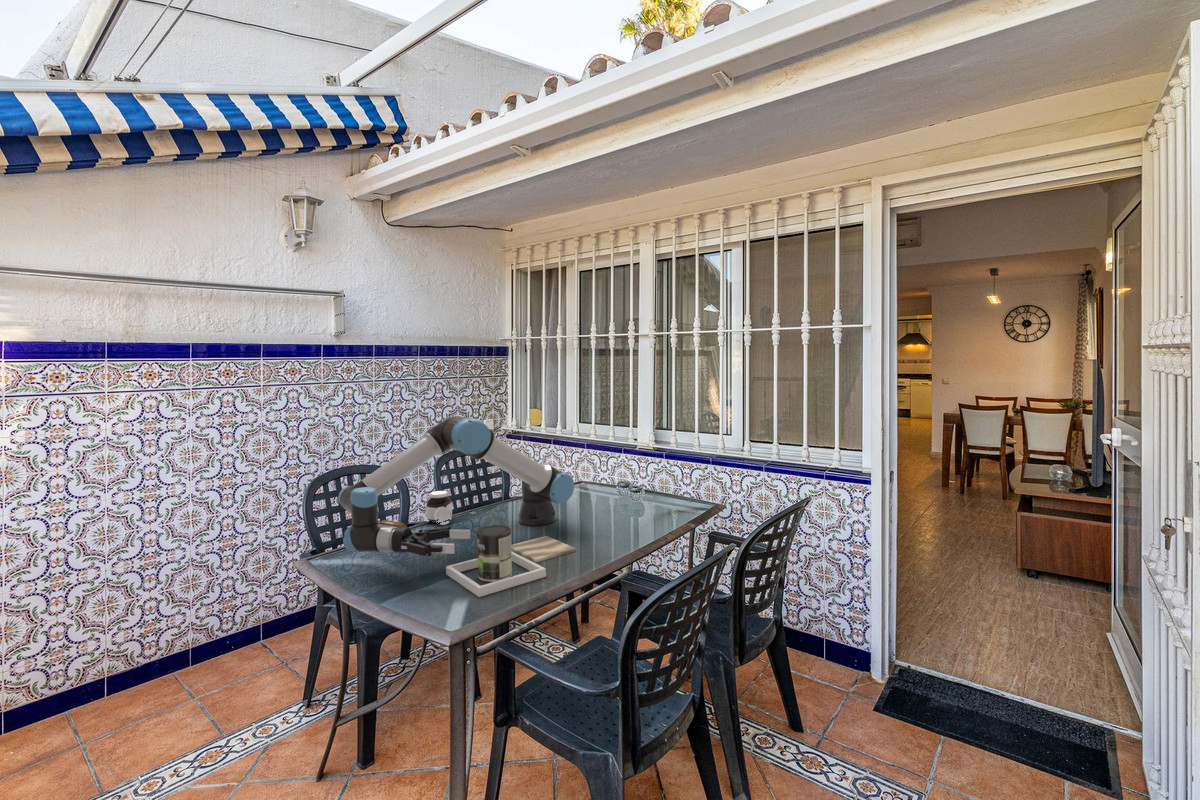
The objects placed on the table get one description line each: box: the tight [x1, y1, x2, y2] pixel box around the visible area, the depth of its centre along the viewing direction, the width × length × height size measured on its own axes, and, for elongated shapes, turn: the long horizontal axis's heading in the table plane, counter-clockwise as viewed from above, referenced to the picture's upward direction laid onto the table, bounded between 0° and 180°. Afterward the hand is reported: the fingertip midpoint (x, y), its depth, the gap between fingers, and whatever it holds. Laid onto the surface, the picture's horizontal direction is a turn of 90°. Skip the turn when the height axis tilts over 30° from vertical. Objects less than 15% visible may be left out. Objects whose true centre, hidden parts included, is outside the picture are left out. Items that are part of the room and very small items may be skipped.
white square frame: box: [445, 550, 547, 598], centre depth 171 cm, size 22×22×2 cm
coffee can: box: [476, 524, 513, 583], centre depth 171 cm, size 10×10×14 cm
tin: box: [378, 519, 408, 528], centre depth 202 cm, size 15×3×8 cm, turn 65°
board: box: [511, 535, 577, 563], centre depth 193 cm, size 18×16×1 cm
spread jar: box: [425, 490, 453, 526], centre depth 229 cm, size 12×11×12 cm
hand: (462, 541), depth 171 cm, fingers open, 13 cm apart
